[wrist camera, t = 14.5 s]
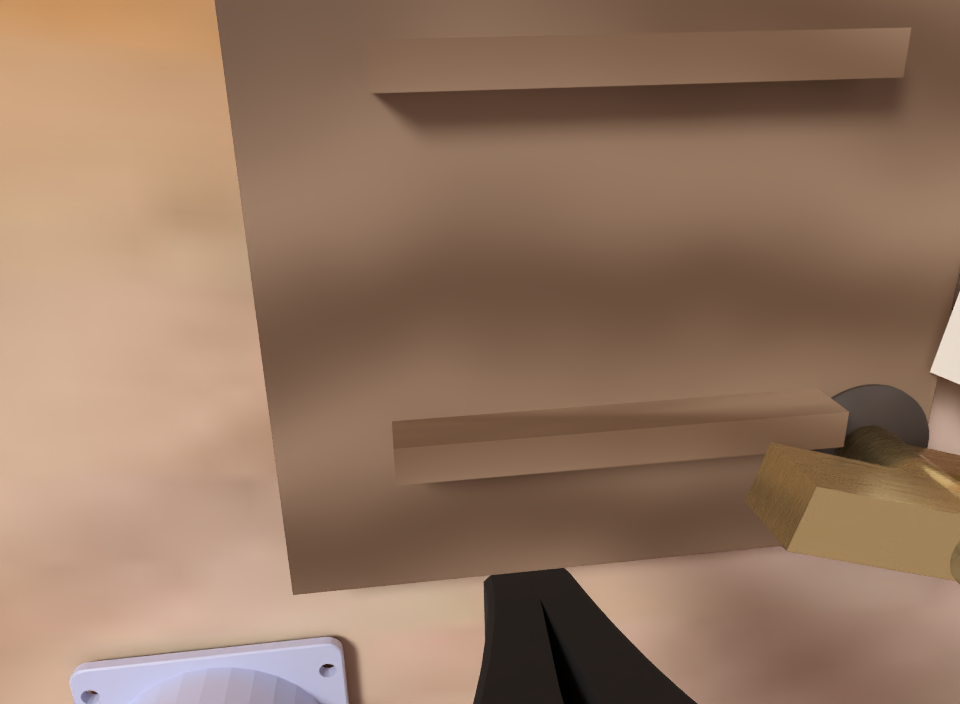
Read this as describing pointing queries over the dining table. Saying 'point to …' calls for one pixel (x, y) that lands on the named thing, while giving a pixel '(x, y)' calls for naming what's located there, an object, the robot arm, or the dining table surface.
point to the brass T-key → (865, 503)
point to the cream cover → (949, 349)
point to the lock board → (582, 264)
